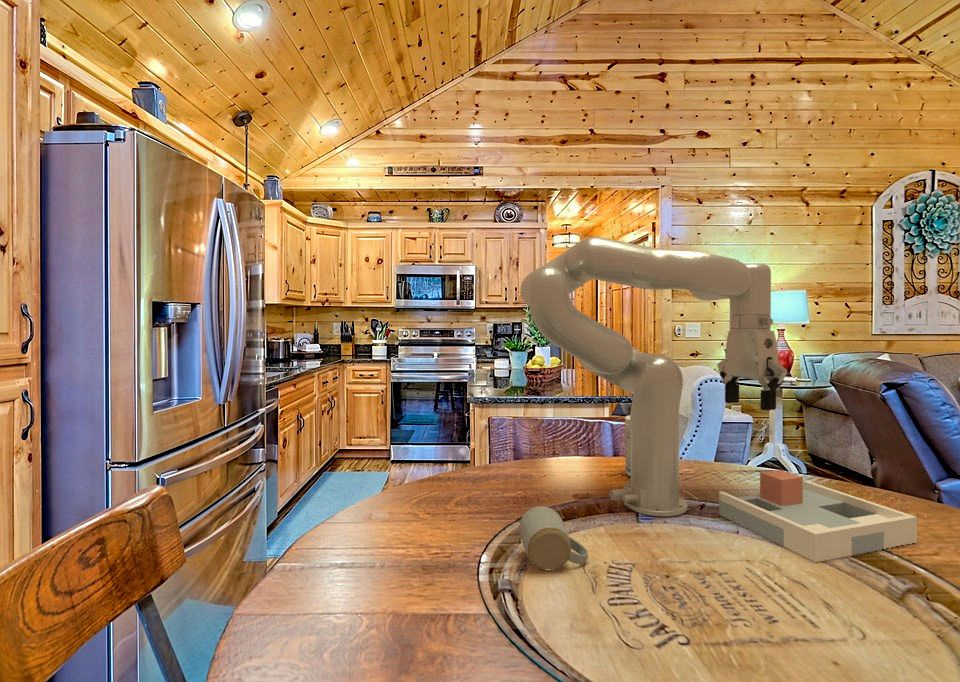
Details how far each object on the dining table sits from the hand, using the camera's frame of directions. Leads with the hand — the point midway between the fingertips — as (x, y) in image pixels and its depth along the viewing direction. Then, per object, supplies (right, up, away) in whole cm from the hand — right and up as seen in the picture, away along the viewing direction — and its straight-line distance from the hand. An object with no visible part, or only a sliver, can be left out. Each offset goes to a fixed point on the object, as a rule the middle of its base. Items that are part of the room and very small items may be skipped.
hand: (749, 406), depth 103 cm
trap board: (+4, -21, -13) cm, 25 cm away
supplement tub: (-15, -20, +19) cm, 32 cm away
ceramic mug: (-45, -22, -23) cm, 55 cm away
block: (+2, -17, -7) cm, 19 cm away
